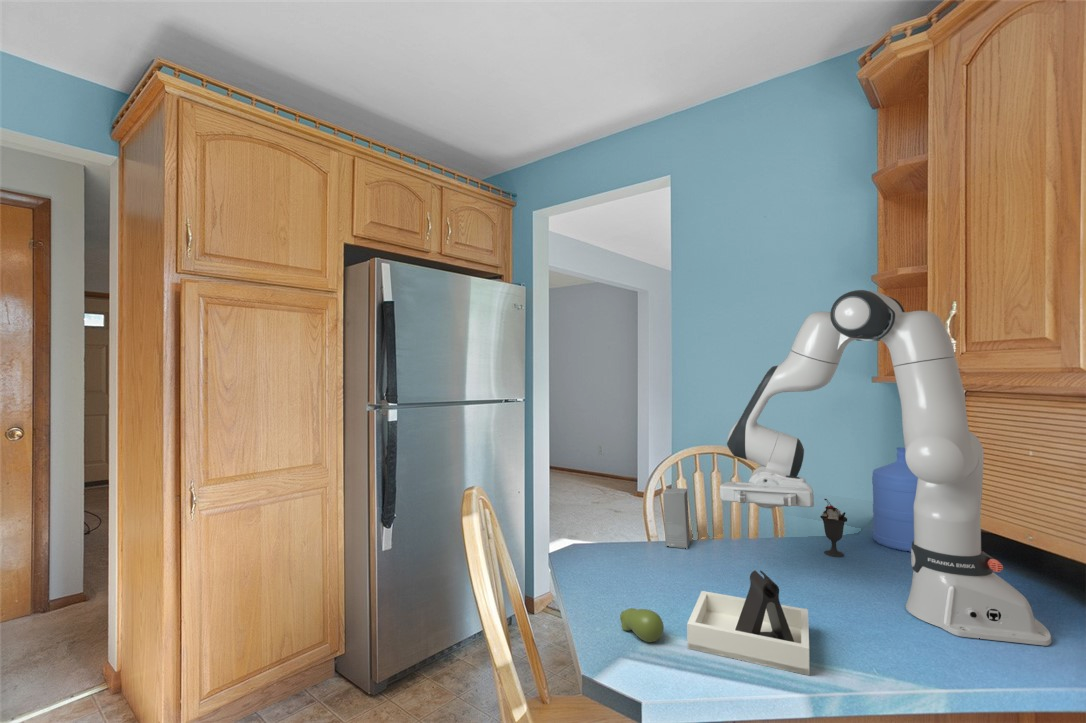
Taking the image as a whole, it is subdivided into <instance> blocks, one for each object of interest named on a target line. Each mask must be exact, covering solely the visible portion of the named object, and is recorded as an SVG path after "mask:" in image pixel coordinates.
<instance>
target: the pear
mask: <svg viewBox="0 0 1086 723" xmlns="http://www.w3.org/2000/svg"><path fill="white" fill-rule="evenodd" d="M619 616H620V618H619V620H620V623H621V629H622V630H623V631H632V632H633V634H635V635H636V636H637V637H638V638H639V639H641V641H644V642H645V643H653V642H656V641H659V640H660V639H661V637H662V636H663V633H664V629H665V628H664V622H663V620H662V619H663V618H661V617H660V615H659V614H658V613H657V612H655V611H653V610H650V609H645V608H644V609H643V608H639V609H636V608H633V607H631V608H627V609H625V610H623V611H621V613H620V615H619Z"/></svg>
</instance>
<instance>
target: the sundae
mask: <svg viewBox="0 0 1086 723" xmlns="http://www.w3.org/2000/svg"><path fill="white" fill-rule="evenodd" d="M823 501H826V502H827V506H825V507H824V509H825V510H824V511H823V512H822V514H821V515H820V518H821V519H822V522H823V528H824V532H825V537H826V538H828V540H829V541H830V542H831V547H830V549H827V550H824V552H823V553H824V554H825V555H826V556H829V557H834V558H841V557H844V556H845V553H843V552H841V551H839V550H838V548H837V542H839V541H840V540H841V539H842V538H843V534H844V527H845V523H847V522H848V517H846V516H845V515H846V512H845V511H844V512H843V513H841V510H840V509H838V508H836V507H835V506H834V505H832V504H831V502H830V501H829V500H828V499H827V498H824V500H823Z"/></svg>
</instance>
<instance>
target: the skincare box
mask: <svg viewBox="0 0 1086 723" xmlns="http://www.w3.org/2000/svg"><path fill="white" fill-rule="evenodd" d="M663 490H664V491H663V493H662V499H663V503H662V504H663V519H664V520H663V522H664V535H665V536H664V538H665V547H667V546H669V548H670V547H671V548H677V549H685V548H686V550H688V548H689V546H690V543H691V536H690V535H691V534H690V520H689V519H690V518H689V499H688V498H689V497H688V488H678V487H677V488H676V487H675V488H674V487H673V488H672V487H666V489H663Z"/></svg>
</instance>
